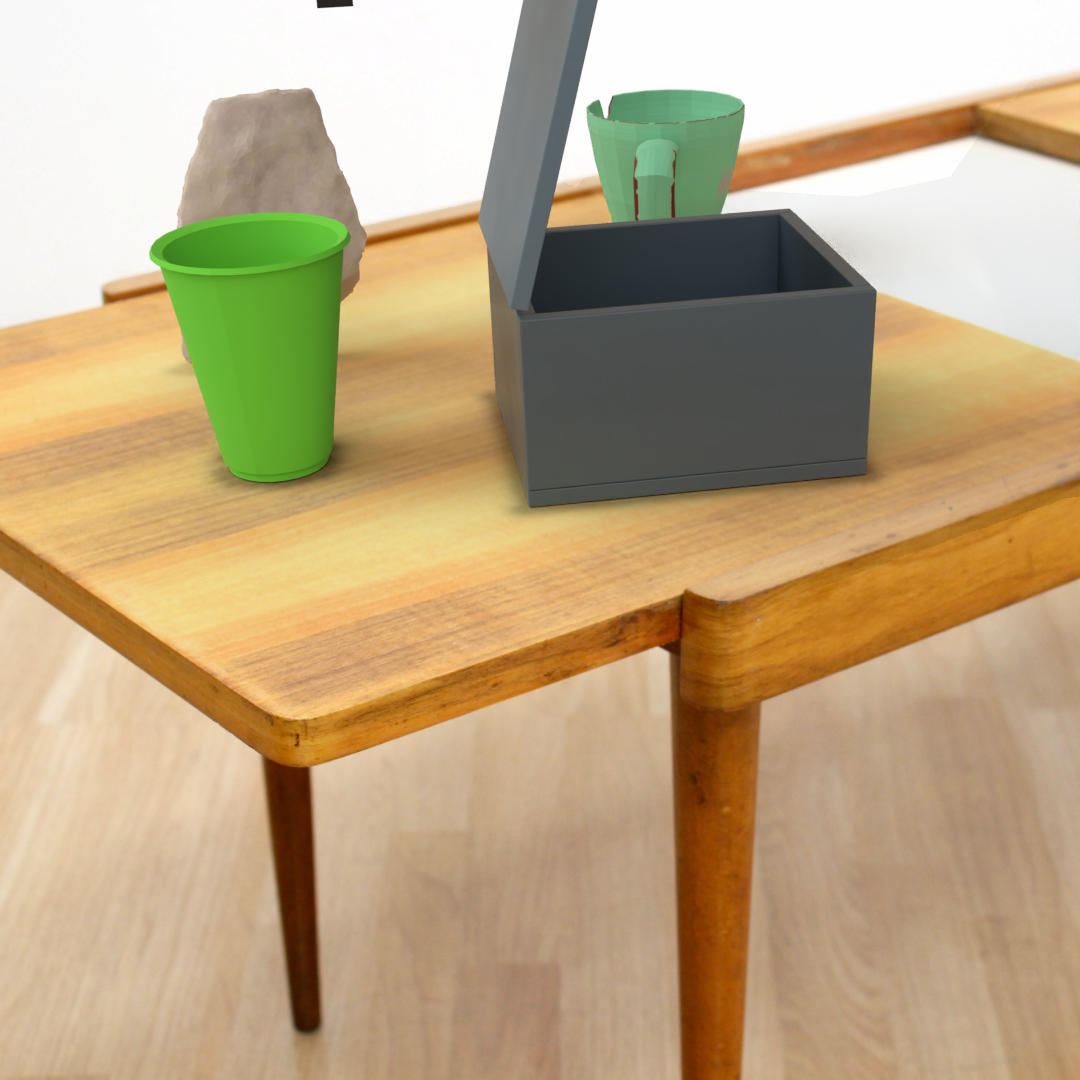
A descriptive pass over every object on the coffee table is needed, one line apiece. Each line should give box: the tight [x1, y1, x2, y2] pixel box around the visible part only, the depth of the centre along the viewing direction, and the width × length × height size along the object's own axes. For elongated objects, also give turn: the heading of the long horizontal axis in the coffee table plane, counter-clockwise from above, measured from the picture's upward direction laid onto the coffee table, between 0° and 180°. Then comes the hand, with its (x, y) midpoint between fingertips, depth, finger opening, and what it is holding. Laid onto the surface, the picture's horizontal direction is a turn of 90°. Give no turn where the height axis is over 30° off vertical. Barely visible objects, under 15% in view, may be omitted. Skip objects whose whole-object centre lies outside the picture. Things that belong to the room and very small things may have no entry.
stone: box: [176, 87, 368, 364], centre depth 84 cm, size 11×3×15 cm, turn 88°
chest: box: [486, 208, 878, 508], centre depth 74 cm, size 16×14×9 cm
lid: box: [477, 0, 599, 311], centre depth 68 cm, size 16×14×1 cm
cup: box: [148, 212, 351, 483], centre depth 73 cm, size 9×9×11 cm
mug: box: [585, 88, 746, 223], centre depth 96 cm, size 15×10×10 cm
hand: (334, 2), depth 65 cm, fingers closed
